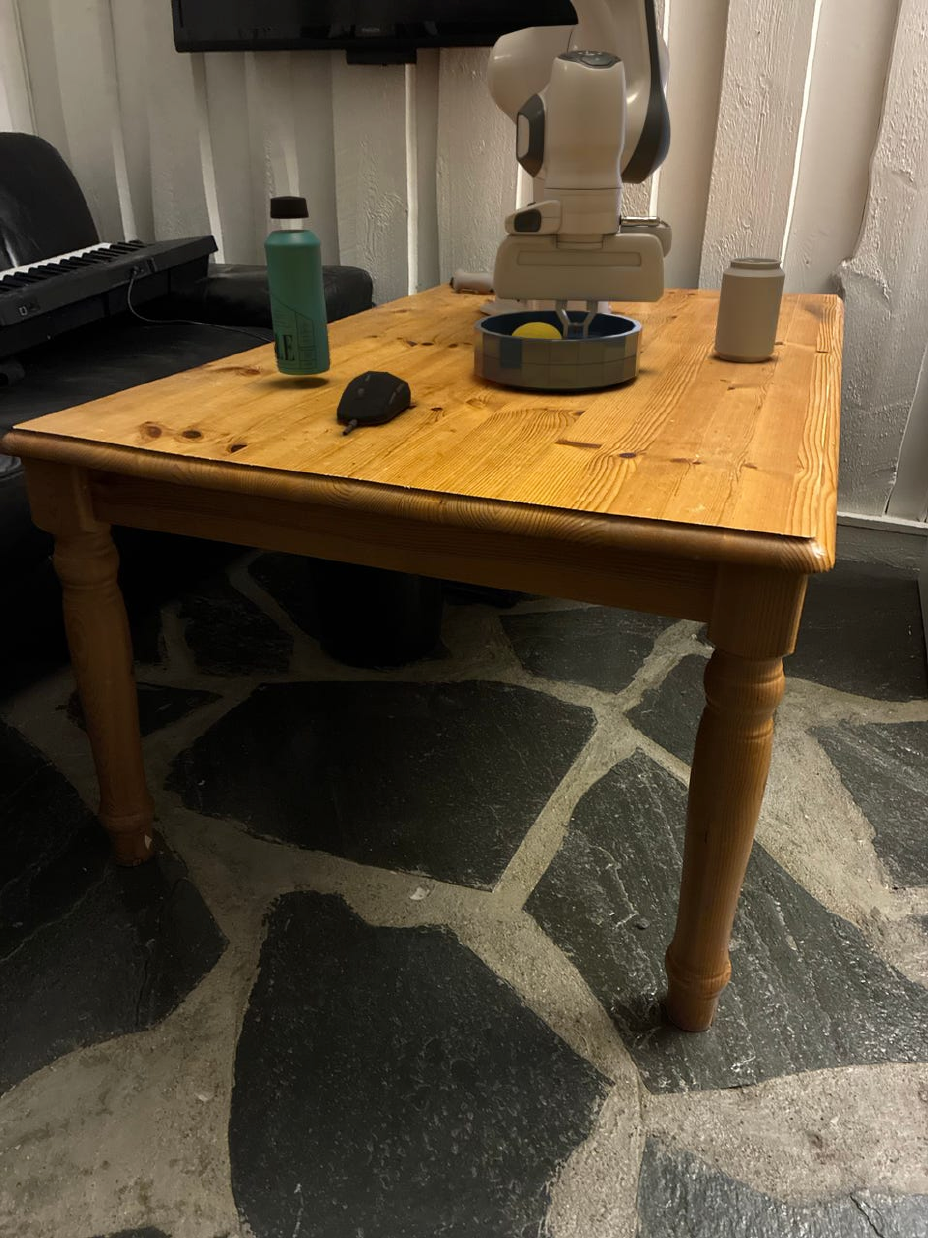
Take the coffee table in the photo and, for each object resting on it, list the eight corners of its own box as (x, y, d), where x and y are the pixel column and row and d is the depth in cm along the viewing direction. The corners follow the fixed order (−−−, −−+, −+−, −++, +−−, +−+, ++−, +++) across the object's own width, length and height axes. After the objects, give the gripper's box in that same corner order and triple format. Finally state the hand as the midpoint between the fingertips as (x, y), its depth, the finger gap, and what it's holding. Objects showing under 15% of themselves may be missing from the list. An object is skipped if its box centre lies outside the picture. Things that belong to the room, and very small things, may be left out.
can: (775, 364, 114) (791, 262, 108) (714, 362, 115) (726, 261, 110) (770, 352, 120) (784, 255, 115) (712, 350, 122) (723, 254, 116)
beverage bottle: (342, 377, 109) (329, 194, 99) (316, 391, 103) (300, 198, 94) (294, 374, 111) (277, 193, 101) (266, 386, 105) (245, 197, 96)
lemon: (489, 360, 107) (536, 354, 101) (503, 317, 107) (551, 309, 101) (519, 381, 111) (567, 377, 104) (533, 340, 111) (581, 333, 105)
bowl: (442, 371, 112) (441, 321, 109) (563, 351, 122) (565, 304, 119) (545, 404, 97) (547, 347, 95) (672, 378, 107) (677, 326, 105)
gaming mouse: (314, 433, 89) (310, 392, 87) (365, 395, 101) (362, 359, 99) (375, 437, 87) (373, 396, 85) (419, 398, 100) (417, 362, 98)
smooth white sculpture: (498, 299, 168) (486, 293, 164) (460, 295, 171) (447, 289, 167) (502, 274, 167) (490, 268, 163) (464, 271, 170) (451, 265, 166)
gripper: (672, 213, 105) (661, 336, 112) (499, 212, 109) (497, 331, 115) (674, 218, 100) (662, 346, 106) (491, 216, 103) (490, 341, 110)
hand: (575, 338), depth 111 cm, fingers closed
